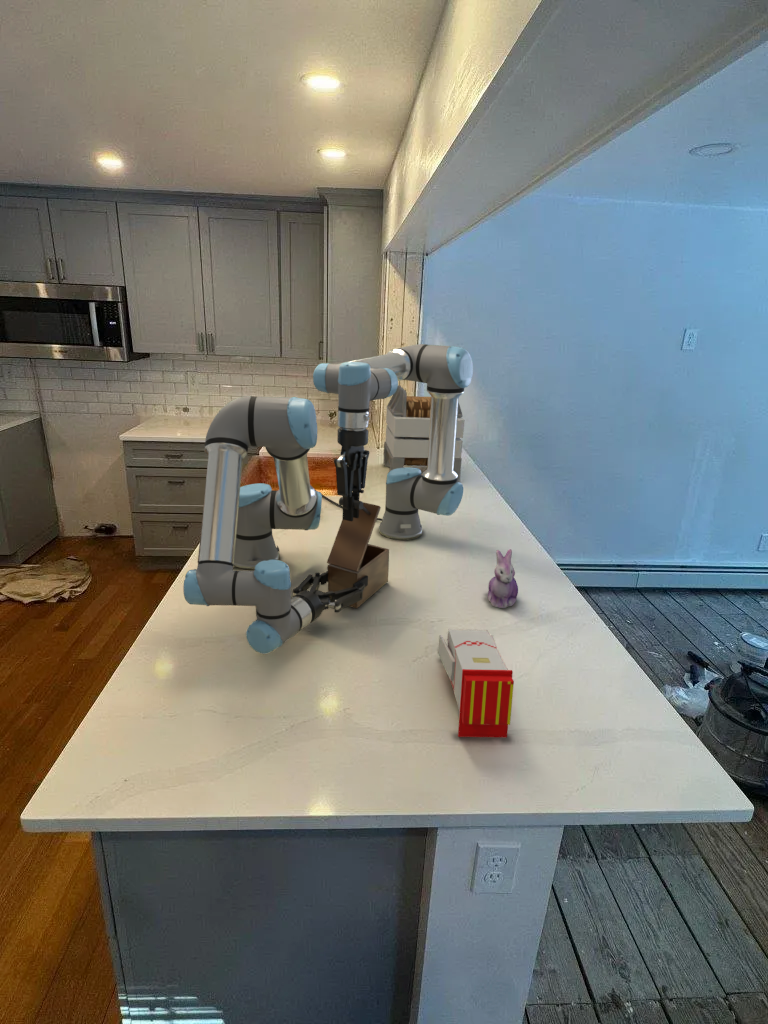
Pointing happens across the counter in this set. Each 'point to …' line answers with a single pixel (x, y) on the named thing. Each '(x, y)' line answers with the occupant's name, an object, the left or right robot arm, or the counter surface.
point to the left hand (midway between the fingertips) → (350, 575)
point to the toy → (478, 682)
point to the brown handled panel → (354, 537)
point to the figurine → (503, 582)
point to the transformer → (413, 432)
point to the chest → (362, 573)
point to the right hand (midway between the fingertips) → (350, 518)
